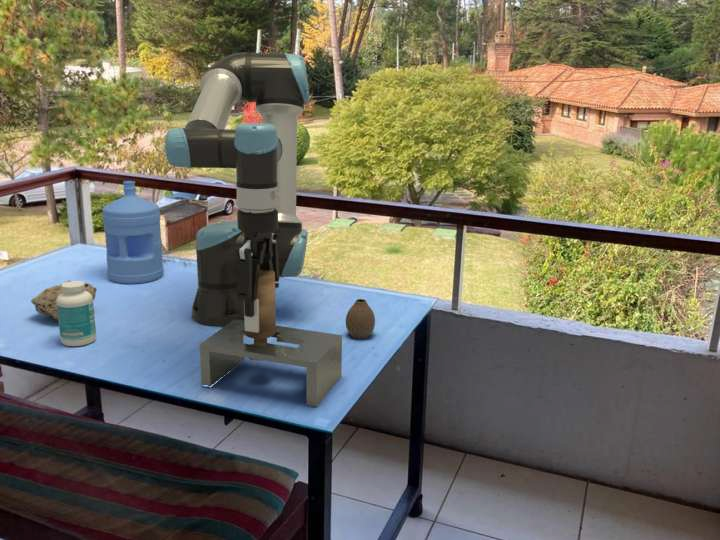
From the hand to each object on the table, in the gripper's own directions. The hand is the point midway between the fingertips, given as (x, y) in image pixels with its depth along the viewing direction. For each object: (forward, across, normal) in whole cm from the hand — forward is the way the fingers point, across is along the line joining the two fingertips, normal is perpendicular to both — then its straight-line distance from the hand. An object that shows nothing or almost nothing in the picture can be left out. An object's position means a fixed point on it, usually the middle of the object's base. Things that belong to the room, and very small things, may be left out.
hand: (259, 324), depth 130 cm
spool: (+6, 0, 0) cm, 6 cm away
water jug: (+12, +48, +64) cm, 80 cm away
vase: (+12, +29, -11) cm, 34 cm away
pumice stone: (+12, +15, +60) cm, 62 cm away
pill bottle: (+12, +3, +46) cm, 48 cm away
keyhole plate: (+12, 0, -3) cm, 12 cm away
